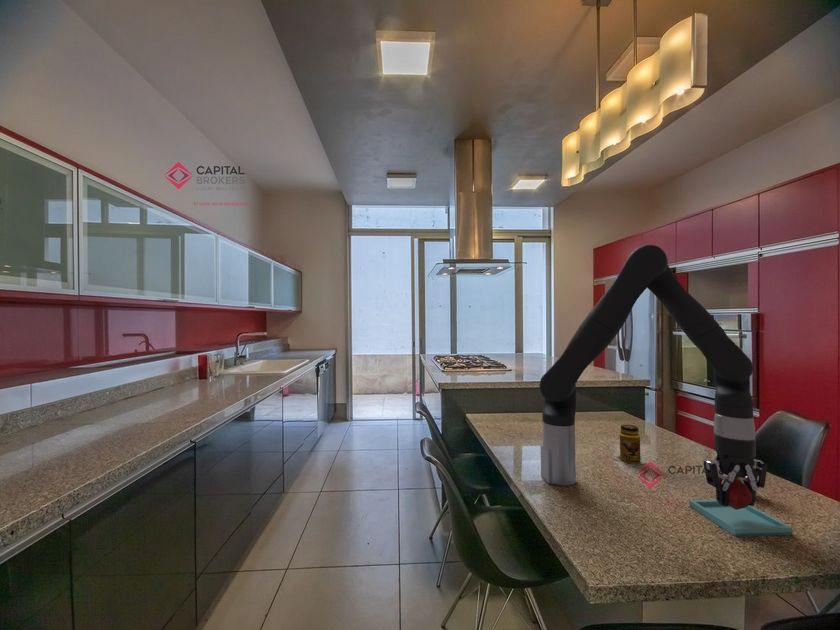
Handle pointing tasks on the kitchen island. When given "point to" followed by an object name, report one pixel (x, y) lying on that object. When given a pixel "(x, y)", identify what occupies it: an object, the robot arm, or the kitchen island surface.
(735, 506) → the dark red rounded piece
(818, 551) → the kitchen island surface
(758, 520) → the tray
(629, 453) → the condiment
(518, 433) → the kitchen island surface
